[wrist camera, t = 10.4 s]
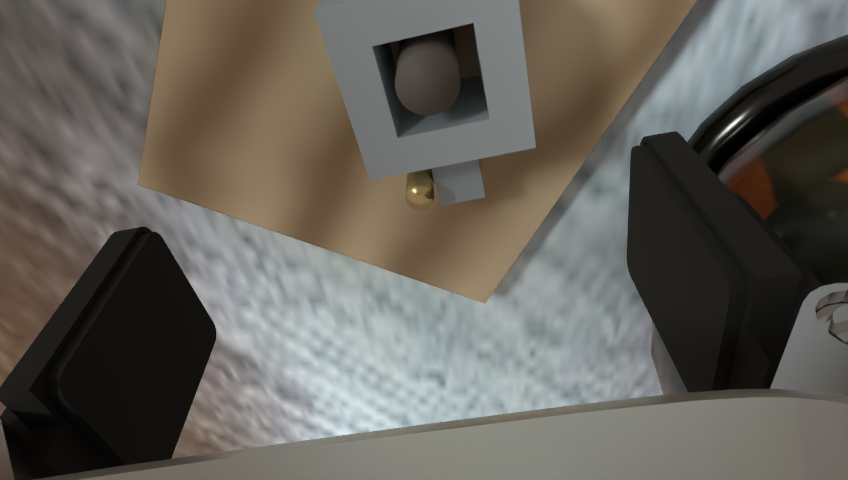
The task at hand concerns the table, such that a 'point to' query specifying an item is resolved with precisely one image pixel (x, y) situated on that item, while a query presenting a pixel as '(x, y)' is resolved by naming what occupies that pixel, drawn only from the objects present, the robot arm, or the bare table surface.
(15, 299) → the table surface
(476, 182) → the grey square hole block
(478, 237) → the post base
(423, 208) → the cylinder
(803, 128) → the black orange vase
